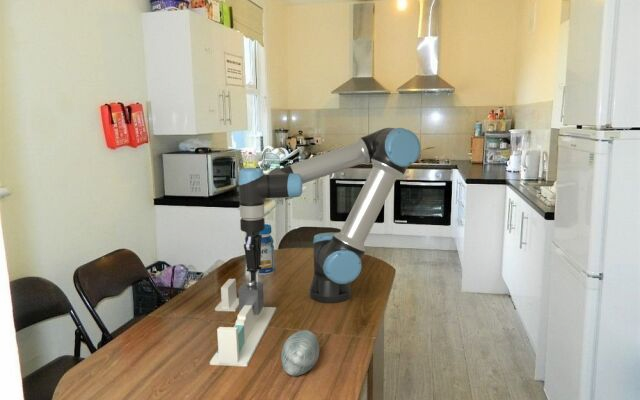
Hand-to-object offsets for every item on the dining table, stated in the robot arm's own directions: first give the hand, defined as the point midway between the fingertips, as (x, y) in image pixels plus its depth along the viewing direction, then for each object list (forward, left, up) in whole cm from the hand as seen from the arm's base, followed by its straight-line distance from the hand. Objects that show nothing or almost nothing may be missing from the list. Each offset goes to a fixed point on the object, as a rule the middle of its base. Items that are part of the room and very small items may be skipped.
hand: (254, 289), depth 151 cm
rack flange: (0, +10, -10) cm, 14 cm away
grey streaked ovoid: (-19, +28, -10) cm, 36 cm away
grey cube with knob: (0, +5, -5) cm, 7 cm away
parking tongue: (+12, -10, -10) cm, 18 cm away
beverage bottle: (+8, -46, -10) cm, 47 cm away
